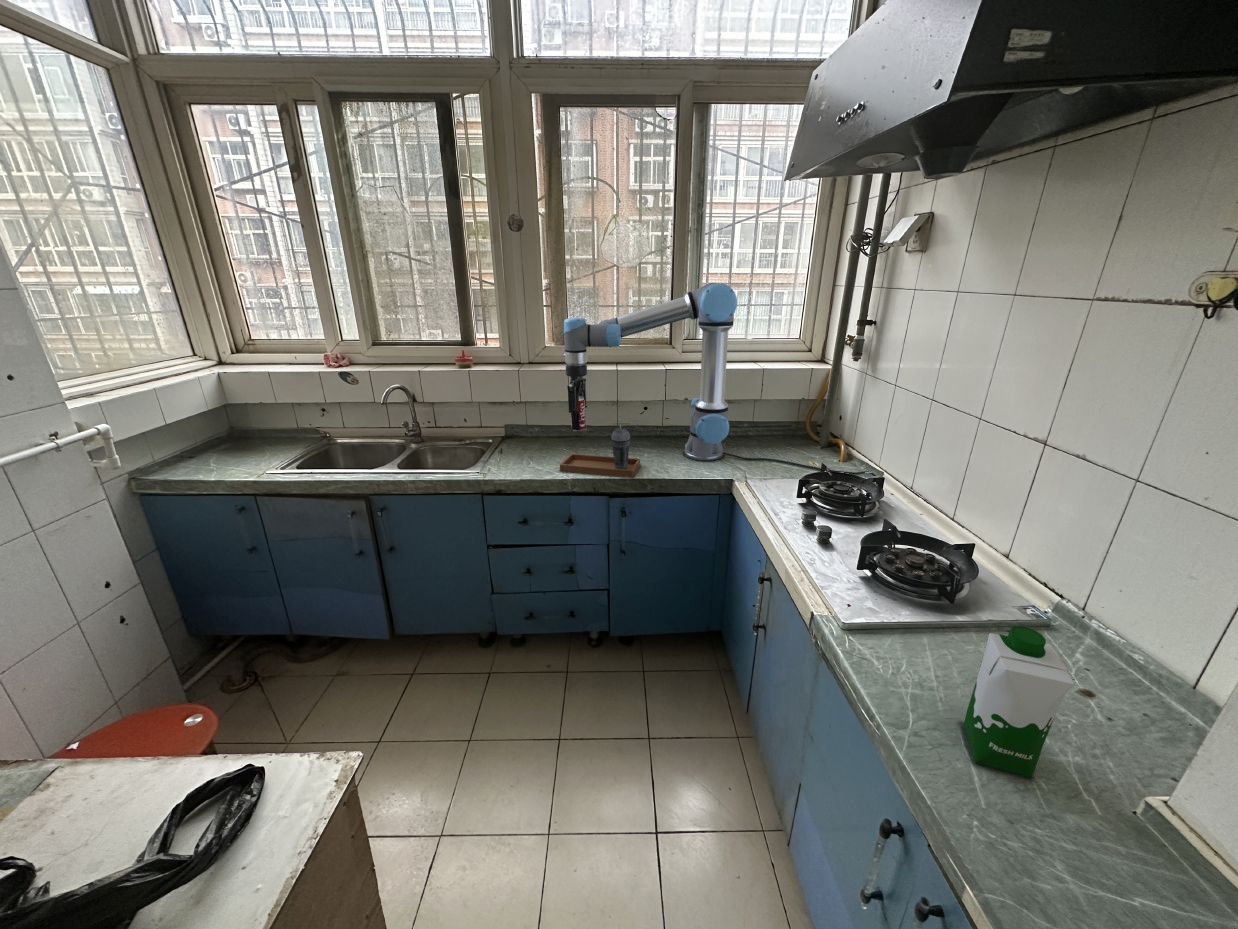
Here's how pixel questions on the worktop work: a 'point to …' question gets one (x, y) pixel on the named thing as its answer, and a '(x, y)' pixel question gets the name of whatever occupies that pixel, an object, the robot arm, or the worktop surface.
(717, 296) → the robot arm
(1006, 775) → the worktop surface
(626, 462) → the beverage cup
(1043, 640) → the milk carton
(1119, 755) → the worktop surface
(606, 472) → the tray
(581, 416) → the soda can
